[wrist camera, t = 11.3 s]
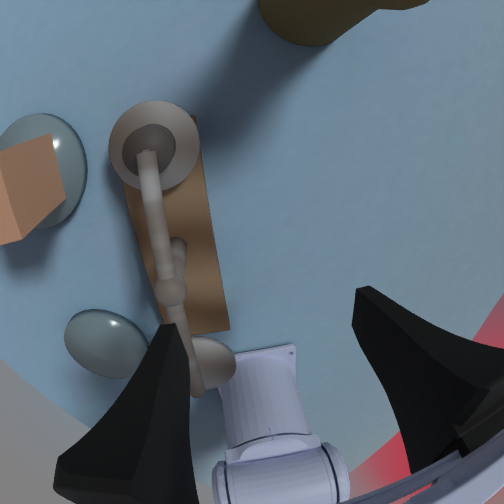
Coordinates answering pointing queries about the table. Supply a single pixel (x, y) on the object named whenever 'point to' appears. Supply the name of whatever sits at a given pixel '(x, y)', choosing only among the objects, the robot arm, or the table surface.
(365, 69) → the table surface
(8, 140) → the grey dome
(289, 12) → the cork
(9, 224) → the block
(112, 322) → the smooth grey pebble
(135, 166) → the balance
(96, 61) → the table surface
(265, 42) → the table surface
